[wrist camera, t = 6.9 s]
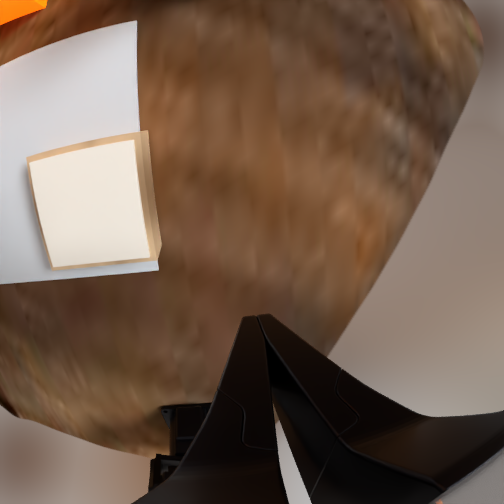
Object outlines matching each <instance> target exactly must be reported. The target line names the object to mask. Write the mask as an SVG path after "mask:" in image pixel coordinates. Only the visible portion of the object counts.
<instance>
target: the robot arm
mask: <svg viewBox="0 0 504 504" xmlns="http://www.w3.org/2000/svg"><path fill="white" fill-rule="evenodd" d="M272 401H273V402H272ZM273 404H274V407H275V409H276V412H277V415H278V417H279V420H280V423H281V425H282V428H283V431H284V433H285V436H286V438H287V441H288V444H289V447H290V449H291V452H292V454H293V457H294V460H295V462H296V465H297V467H298V470H299V472H300V475H301V478H302V480H303V482H304V485H305V488H306V490H307V492H308V495H309V497H310V500H311V503H312V504H504V410H503V411H500V412H494V413H486V414H477V415H465V416H450V417H430V416H425V415H421V414H419V413H416V412H414V411H412V410H410V409H408V408H406V407H404V406H403V405H401V404H399V403H397V402H395V401H393V400H391V399H389V398H388V397H386V396H384V395H382V394H380V393H378V392H377V391H375V390H373V389H372V388H370V387H368V386H367V385H365V384H363V383H362V382H360V381H359V380H357V379H356V378H355V377H353V376H352V375H350V374H349V373H347V372H346V371H344V370H343V369H342V370H341V367H339V366H338V365H337V364H335V363H334V362H333V361H331V360H330V359H328V358H327V357H326V356H324V355H323V354H322V353H320V352H319V351H318V350H316V349H315V348H314V347H313V346H311V345H310V344H309V343H307V342H306V341H305V340H303V339H302V338H301V337H299V336H298V335H297V334H295V333H294V332H293V331H292V330H290V329H289V328H288V327H286V326H285V325H284V324H282V323H281V322H280V321H279V320H277V319H276V318H275V317H274V316H272V315H271V314H261V315H257V317H256V316H254V315H253V316H245V317H243V318H242V320H241V323H240V326H239V329H238V331H237V334H236V337H235V340H234V343H233V346H232V349H231V351H230V354H229V357H228V360H227V363H226V366H225V368H224V371H223V374H222V377H221V380H220V382H219V385H218V388H217V391H216V393H215V396H214V399H213V401H212V403H211V404H199V405H184V406H164V407H162V408H161V413H162V415H163V417H164V419H165V421H166V423H167V425H168V427H169V429H170V455H161V454H156V458H155V459H152V460H151V462H150V479H149V487H148V493H147V494H145V495H144V496H143V497H141V498H139V499H138V500H136V501H135V502H133V503H132V504H289V502H288V498H287V494H286V490H285V486H284V483H283V478H282V474H281V470H280V463H279V455H278V446H277V438H276V429H275V420H274V411H273Z"/></svg>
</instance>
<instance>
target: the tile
mask: <svg viewBox="0 0 504 504" xmlns="http://www.w3.org/2000/svg"><path fill="white" fill-rule="evenodd" d="M26 160H27V167H28V174H29V180H30V186H31V191H32V196H33V201H34V206H35V211H36V215H37V219H38V223H39V227H40V231H41V235H42V239H43V243H44V246H45V250H46V253H47V256H48V260H49V263H50V266H51V269H52V271H56V270H66V269H76V268H86V267H96V266H106V265H117V264H127V263H137V262H147V261H157V260H158V256H159V253H160V249H161V246H162V243H161V237H160V230H159V224H158V217H157V210H156V202H155V194H154V186H153V178H152V168H151V158H150V148H149V136H148V130H146V131H139V132H133V133H127V134H121V135H115V136H110V137H105V138H100V139H95V140H90V141H85V142H81V143H77V144H72V145H68V146H64V147H60V148H56V149H52V150H49V151H45V152H41V153H38V154H35V155H32V156H28V157H26Z"/></svg>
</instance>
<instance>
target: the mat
mask: <svg viewBox="0 0 504 504" xmlns="http://www.w3.org/2000/svg"><path fill="white" fill-rule="evenodd" d="M139 131H140V123H139V107H138V86H137V21H131V22H126V23H121V24H117V25H112V26H108V27H104V28H100V29H97V30H93V31H89V32H86V33H82V34H79V35H76V36H73V37H70V38H67V39H64V40H61V41H58V42H55V43H53V44H50V45H47V46H45V47H42V48H40V49H37V50H35V51H32V52H30V53H28V54H25V55H23V56H21V57H19V58H16V59H14V60H12V61H10V62H8V63H6V64H4V65H2V66H0V284H9V283H21V282H33V281H45V280H57V279H69V278H80V277H91V276H103V275H114V274H125V273H135V272H146V271H157V270H159V267H158V261H147V262H137V263H127V264H117V265H106V266H96V267H86V268H76V269H66V270H56V271H52V269H51V266H50V263H49V260H48V256H47V253H46V250H45V246H44V243H43V239H42V235H41V231H40V227H39V223H38V219H37V215H36V211H35V206H34V201H33V196H32V191H31V186H30V180H29V174H28V167H27V160H26V157H28V156H32V155H35V154H38V153H41V152H45V151H49V150H52V149H56V148H60V147H64V146H68V145H72V144H77V143H81V142H85V141H90V140H95V139H100V138H105V137H110V136H115V135H121V134H127V133H133V132H139Z"/></svg>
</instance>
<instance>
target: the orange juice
mask: <svg viewBox="0 0 504 504" xmlns="http://www.w3.org/2000/svg"><path fill="white" fill-rule="evenodd" d="M46 4H47V0H0V25H2V24H4V23H6V22H9V21H11V20H13V19H16V18H18V17H21V16H24V15H26V14H29V13H32V12H35V11H38V10H41V9H44V8H46Z"/></svg>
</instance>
